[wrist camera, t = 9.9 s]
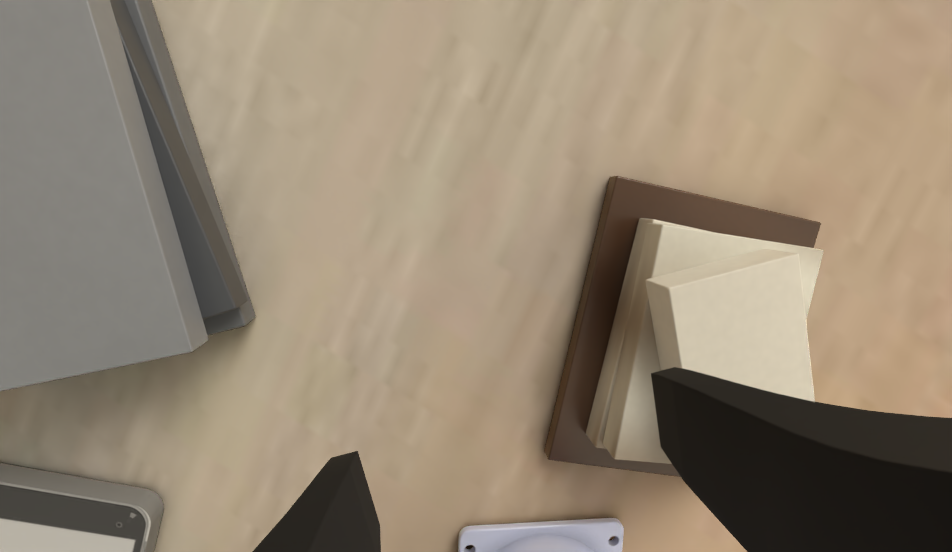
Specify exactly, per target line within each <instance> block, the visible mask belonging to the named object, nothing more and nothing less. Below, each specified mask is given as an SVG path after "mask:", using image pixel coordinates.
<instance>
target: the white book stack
mask: <svg viewBox="0 0 952 552" xmlns="http://www.w3.org/2000/svg"><path fill="white" fill-rule="evenodd" d="M820 225H821V223H820V222H816V221H812V220H807V219H803V218H798V217H794V216H790V215H785V214H781V213H777V212H772V211H768V210H764V209H759V208H755V207H751V206H746V205H742V204H737V203H733V202H729V201H724V200H720V199H716V198H711V197H707V196H703V195H698V194H694V193H689V192H685V191H681V190H676V189H672V188H668V187H663V186H659V185H655V184H650V183H646V182H642V181H637V180H633V179H628V178H624V177H620V176H613V177H610V179H609V183H608V187H607V191H606V195H605V200H604V204H603V208H602V212H601V216H600V221H599V225H598V229H597V233H596V237H595V241H594V246H593V250H592V254H591V258H590V262H589V267H588V271H587V275H586V279H585V283H584V287H583V292H582V296H581V300H580V304H579V308H578V312H577V317H576V321H575V325H574V329H573V333H572V338H571V342H570V346H569V350H568V354H567V358H566V363H565V367H564V371H563V375H562V379H561V384H560V388H559V392H558V396H557V400H556V404H555V409H554V413H553V417H552V421H551V425H550V430H549V434H548V438H547V442H546V446H545V450H544V451H545V454H546V455H547V457H548V459H549V460H555V461H563V462H570V463H578V464H586V465H593V466H601V467H609V468H617V469H624V470H632V471H640V472H647V473H655V474H663V475H671V476H678V477H681V476H680V475H679V473H678V472H677V470H676V469H675V468H674V466H673V465H672V463H671V462H670V460H669V459H668V457H667V456H666V454H665V453H664V451H663V450H662V448H661V445H660V438H659V430H658V423H657V415H656V408H655V401H654V393H653V386H652V378H651V373H654V372H658V371H661V369H660V364H659V358H658V352H657V346H656V340H655V334H654V328H653V323H652V317H651V311H650V305H649V299H648V293H647V287H646V282H645V281H646V280H647V279H650V278H654V277H657V276H661V275H665V274H669V273H673V272H676V271H680V270H684V269H688V268H692V267H695V266H699V265H703V264H707V263H711V262H714V261H718V260H722V259H726V258H730V257H733V256H737V255H741V254H745V253H749V252H752V251H756V250H760V249H770V250H777V251H784V252H790V253H797V254H799V261H800V270H801V279H802V288H803V298H804V307H805V316H806V319H807V315H808V311H809V307H810V303H811V299H812V295H813V291H814V287H815V284H816V280H817V276H818V272H819V268H820V264H821V260H822V256H823V252H824V250H822V249H816V248H814V245H815V241H816V238H817V235H818V231H819V228H820Z"/></svg>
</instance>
